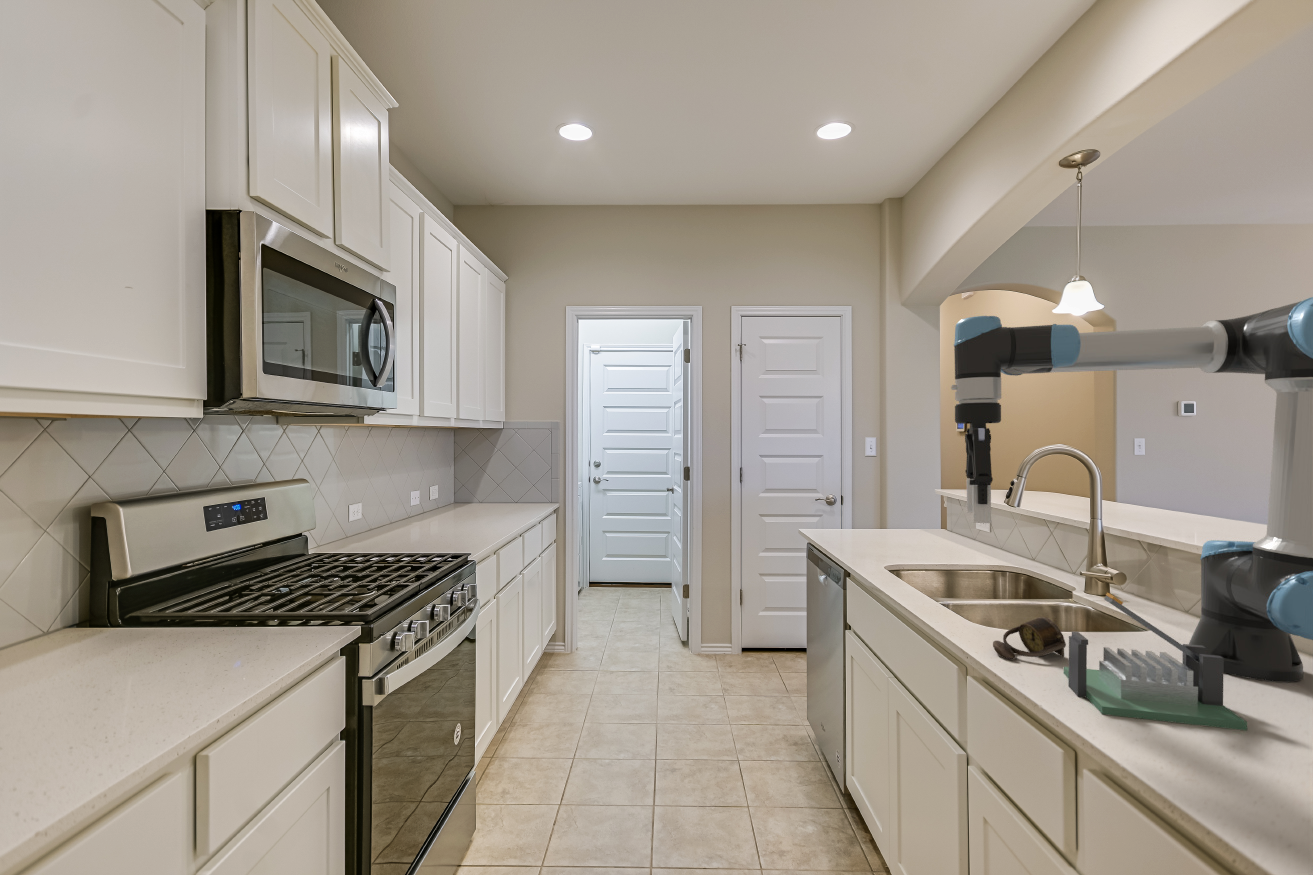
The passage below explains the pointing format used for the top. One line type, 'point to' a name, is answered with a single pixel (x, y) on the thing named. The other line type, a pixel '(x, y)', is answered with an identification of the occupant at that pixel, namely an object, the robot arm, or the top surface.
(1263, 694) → the top surface
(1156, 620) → the top surface
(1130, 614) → the strap
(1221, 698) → the grey u-bracket
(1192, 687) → the heatsink
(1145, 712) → the board
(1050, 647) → the antique brown clock
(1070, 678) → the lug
